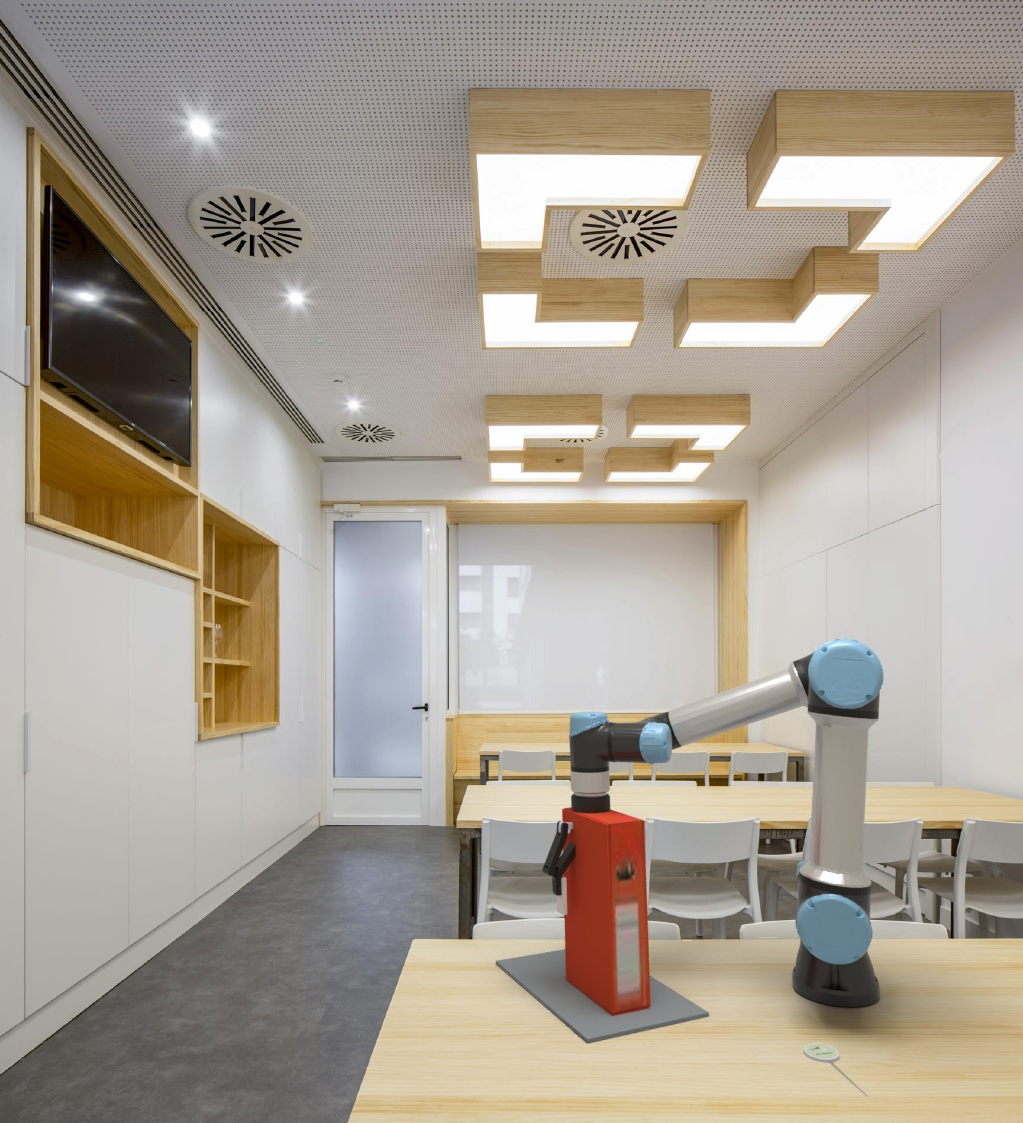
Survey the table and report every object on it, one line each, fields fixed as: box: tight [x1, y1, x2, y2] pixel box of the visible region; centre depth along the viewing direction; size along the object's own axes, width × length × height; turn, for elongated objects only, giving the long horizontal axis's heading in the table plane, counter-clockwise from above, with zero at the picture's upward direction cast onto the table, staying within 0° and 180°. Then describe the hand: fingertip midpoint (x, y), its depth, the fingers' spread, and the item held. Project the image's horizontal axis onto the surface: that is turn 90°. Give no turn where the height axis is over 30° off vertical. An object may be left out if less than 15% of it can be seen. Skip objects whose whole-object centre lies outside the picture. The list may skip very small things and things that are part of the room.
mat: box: [495, 948, 710, 1044], centre depth 153 cm, size 24×38×1 cm, turn 24°
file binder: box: [561, 806, 651, 1016], centre depth 150 cm, size 8×17×32 cm, turn 23°
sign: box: [803, 1042, 868, 1097], centre depth 122 cm, size 5×1×15 cm
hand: (593, 908), depth 154 cm, fingers open, 13 cm apart
